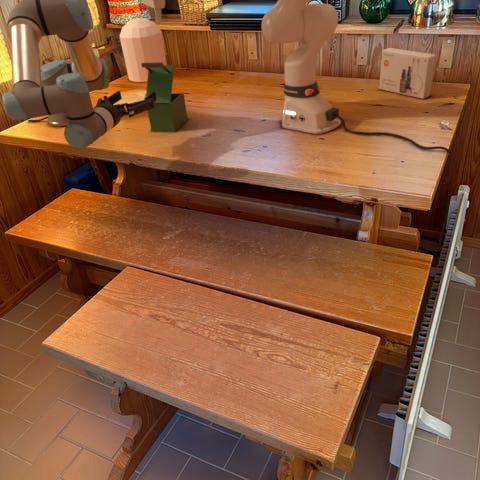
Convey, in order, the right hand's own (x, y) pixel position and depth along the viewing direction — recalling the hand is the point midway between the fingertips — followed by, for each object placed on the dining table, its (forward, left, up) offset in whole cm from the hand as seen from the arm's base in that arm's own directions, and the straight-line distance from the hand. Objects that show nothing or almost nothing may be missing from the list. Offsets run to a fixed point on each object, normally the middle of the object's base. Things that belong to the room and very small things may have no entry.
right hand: (155, 20), depth 162 cm
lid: (-3, +4, -21) cm, 21 cm away
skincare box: (-54, -78, -37) cm, 102 cm away
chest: (-2, +3, -37) cm, 37 cm away
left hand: (-11, +19, -19) cm, 29 cm away
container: (+68, -32, -37) cm, 84 cm away
